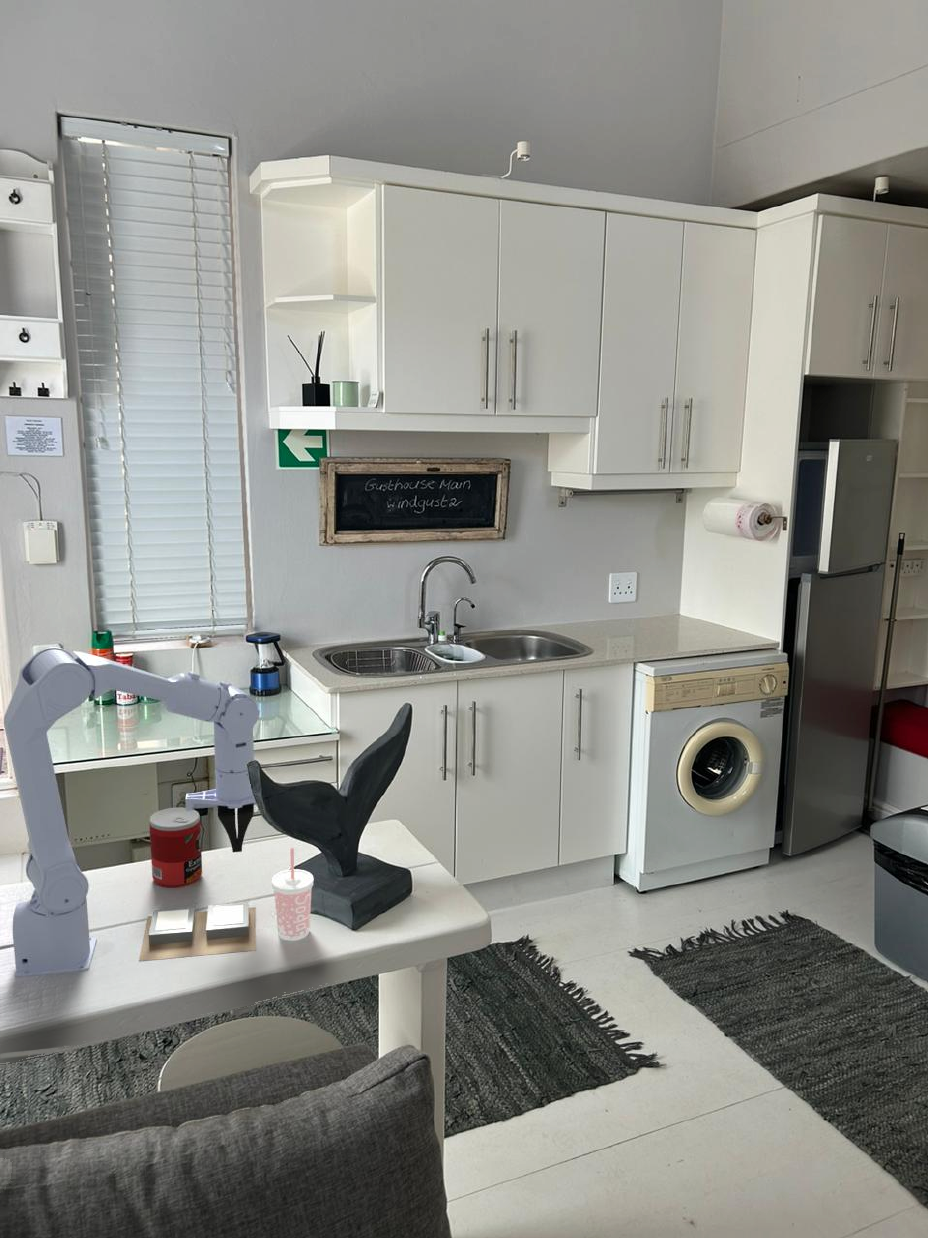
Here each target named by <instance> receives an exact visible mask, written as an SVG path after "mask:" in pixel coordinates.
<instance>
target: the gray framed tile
mask: <svg viewBox="0 0 928 1238" xmlns="http://www.w3.org/2000/svg"><path fill="white" fill-rule="evenodd" d="M249 905H250V904H249V901H246V902H233V903H223V904H212V905H211V904H210V905H207V911H208V914H207V926H206V938H207V940H212V939H223V938H234V937H245V936H249V908H250V906H249Z"/></svg>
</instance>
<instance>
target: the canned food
mask: <svg viewBox="0 0 928 1238" xmlns="http://www.w3.org/2000/svg"><path fill="white" fill-rule="evenodd" d="M148 823H149V842H150V843H149V844H150V858H151V859H150V861H151V876H152V879H153V882H154V884H156V885H157V886H159V887H162V888H171V889H173V888H176V889H177V888H184V887H188V886H190V885H192V884H193V885H194V884H195V883H196V882H198V881H199V880H200V879H201V878H202V876H203V875H202V874H203V862H202V861H203V857H202V856H203V855H202V827H201V817H200V813H199V811H197V810H195V809H193V810H191V811H186V807H182V806H181V807H180V806H179V807H168V808H164V809H161V810H158V811H156V812H154V813H152V815H150V817H149V822H148Z"/></svg>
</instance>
